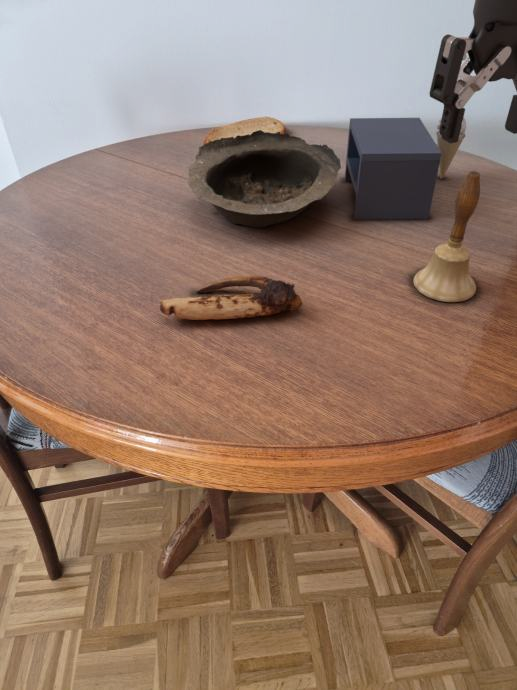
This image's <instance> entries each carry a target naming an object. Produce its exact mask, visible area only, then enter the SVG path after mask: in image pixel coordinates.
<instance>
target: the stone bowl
mask: <svg viewBox="0 0 517 690" xmlns="http://www.w3.org/2000/svg"><path fill="white" fill-rule="evenodd" d="M341 169H342V166H341V160H340V158H339V157H338V156H337V155H336V154H335V151H334V150H333V149H332V148H331V147H329V146H328V145H327V144H313V143H312V144H309V143H307V141H306V140H305V139H302V138H301V137H299V136H295V135H289V134H288V133H287V132H286V134H280V132H277V133H269V132H266V133H265V132H263V131H261V130H259V131H255V132H253V133H252V134H251V135H249V134H248V135H244V136H239V135H238V136H236V137H235V138H234V137H228V138H221V139H220V140H214V141H210V142H208V143H207V144H205V145H202V146H200V147H198V154H196V155H195V161H194V162H193V163H190V164H189V165H188V172H187V176H188V178H187V179H188V180H187V185H188V187H189V189H191V192H192V193H193V194H194V195H195V197H196V198H197V199H199V200H201V201H203V202H205V201H206V202H208V203H210V204H212V205H213V207H214V208H215V209H216V211H217V212H218V214H220V215H221V216H223V218H225V219H226V221H228V223H230V224H232V225H242V226H246V227H252V228H266V227H268V226H270V225H275V224H279V223H283V222H287V221H289V220H291V219H293V218H294V217H296V216H297V215H299V214H301V213H302V212H303V211H304V210H306V209H307V208H308V207H309V206H310V204H312V202H314V201H318V200H322V199H323V198H324V197H325V196H326V195H327V194H328V193H329V192H330V191H331V189H332V188H333V187H334V186H335V184H336V179H337V178H338V175H339V173H338V172H339V171H340V170H341Z"/></svg>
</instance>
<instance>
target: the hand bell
mask: <svg viewBox="0 0 517 690" xmlns="http://www.w3.org/2000/svg"><path fill="white" fill-rule="evenodd" d="M480 177H481V173H480V172H478V171H477V170H476V171H475V170H473V171H472V170H471V171H469V172H468V174H467V176H466V178H465V179H464V180H463V181H462V183H461V185H460V187H459V188H458V191H457V194H456V198H455V203H454V222H453V226H452V229H451V231H450V235H449V238H448V240H447V242H446V243H445V242H444V243H442V244H439V245H437V246H436V247H435V249H434V252H433V254H432V257H431V259H430V260H429V263H427V265H426V266H425V267H424V268H422V269H420V270H419V271H418V272H416V274H414V277H413V282H412V283H413V285H414V288H415V289H416V290H417V291H418V292H419V293H421V295H424V296H425V297H427V298H428V299H432V300H436V301H439V302H443V303H459V302H460V303H461V302H464V301H468V300H469V299H471V298H472V297H474V295H475V294H476V292H477V285H476V283H475V280H474V279H473V278H472V277H471V274H470V269H469V268H470V258H471V254H470V251H469V249H468V248H467V247H465V246H463V241H464V238H465V234H466V229H467V225H468V222H469V221H470V219H471V217H472V215H473V214H474V212H475V210H476V208H477V205H478V202H479V201H480V195H481V183H480V182H481V180H480Z"/></svg>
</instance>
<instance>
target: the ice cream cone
mask: <svg viewBox="0 0 517 690" xmlns="http://www.w3.org/2000/svg"><path fill="white" fill-rule="evenodd" d="M441 119H442V117H441V118H440V119H439V121H438V122H439V123H438V124H437V125H436V127H437V129H436V130H437V131H436V132H435V133H436V134H435V135H436V142H437V143H436V144H437V147H438V148H439V150H440V151H441V153H442V154H441V158H440V164H439V169H438V170H439V178H440V179H444V177H445V174H446V173H447V171H448V169H449V168H450V165H451V164H452V162H453V160H454V158H455V156H456V154H457V152H458V150H459V149H460V147H461V145H462V143H463V140H464V139H465V138H466V136H467V135H466V130H467V120H466V118H465V116H464V117H463V121H462V126H461V130H460V135H459V139H458V142H456V143H448V142H447V141H445V140H443V139H442V136H441V135H440V131H439V129H440V125H441Z"/></svg>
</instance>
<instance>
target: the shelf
mask: <svg viewBox="0 0 517 690" xmlns="http://www.w3.org/2000/svg"><path fill="white" fill-rule="evenodd" d="M441 154H442V153H441V151H440V150H439V148H438V144H437V143H436V142H435V139H433V137H432V135H431V133H429V130H428V129H427V127H426V125H425V124H424V123H423V121H422V120H421V118H420V117H355V118H354V117H353V118H352V117H350V118H349V126H348V136H347V148H346V158H345V169H344V182H351V183H352V188H353V191H354V194H355V202H354V212H353V219H354V220H355V221H356V220H357V221H363V220H364V221H365V220H367V221H369V220H371V221H373V220H374V221H376V220H429V216H430V211H431V207H432V202H433V197H434V192H435V187H436V184H437V183H436V182H437V178H438V174H439V173H438V172H439V170H440V169H439V164H440V158H441Z"/></svg>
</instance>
